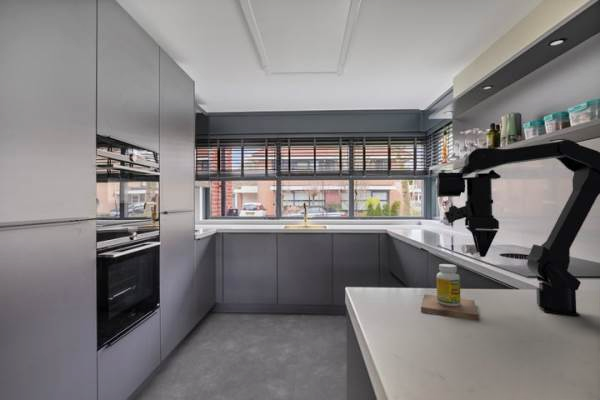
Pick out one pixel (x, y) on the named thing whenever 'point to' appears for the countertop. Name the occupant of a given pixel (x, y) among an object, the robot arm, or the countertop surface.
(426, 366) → the countertop surface
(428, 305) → the walnut board
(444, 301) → the supplement bottle
